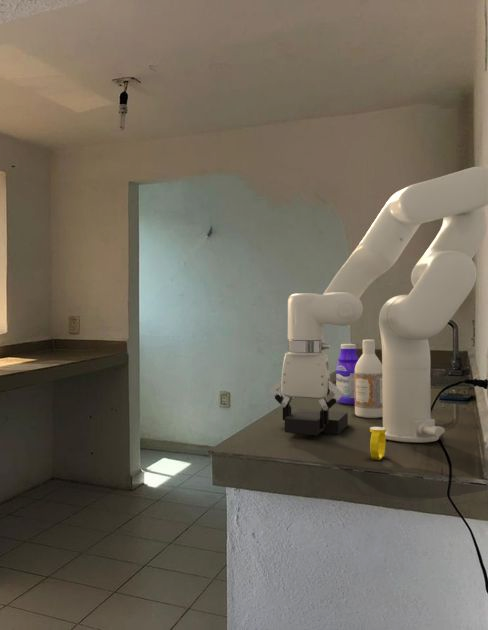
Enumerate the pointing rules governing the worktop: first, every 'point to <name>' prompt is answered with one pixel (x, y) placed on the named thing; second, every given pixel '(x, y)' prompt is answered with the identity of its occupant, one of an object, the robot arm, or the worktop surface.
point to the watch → (377, 442)
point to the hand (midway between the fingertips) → (305, 424)
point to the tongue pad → (303, 423)
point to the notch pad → (332, 420)
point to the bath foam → (368, 383)
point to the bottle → (347, 373)
